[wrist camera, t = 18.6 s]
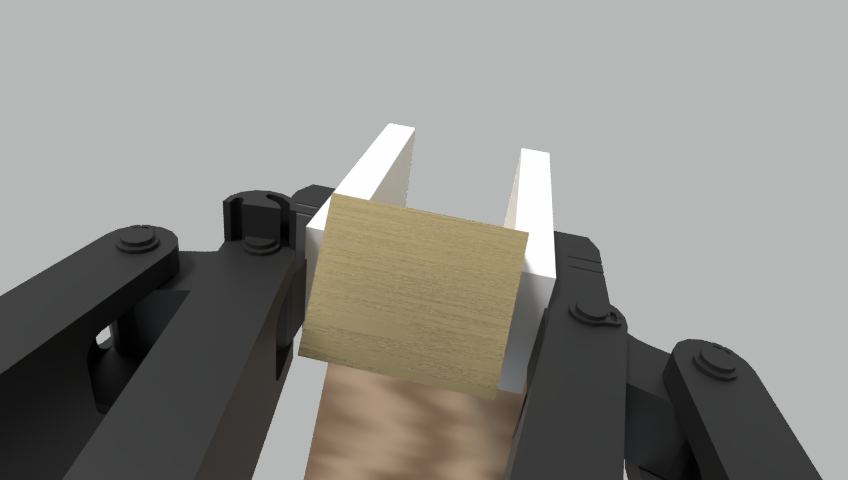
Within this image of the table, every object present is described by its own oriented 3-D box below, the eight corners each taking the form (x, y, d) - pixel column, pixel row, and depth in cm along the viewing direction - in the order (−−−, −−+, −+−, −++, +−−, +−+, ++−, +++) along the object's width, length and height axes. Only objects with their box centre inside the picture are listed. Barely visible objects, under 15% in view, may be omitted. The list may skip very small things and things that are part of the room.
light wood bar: (477, 292, 34) (485, 252, 34) (494, 400, 8) (529, 232, 8) (428, 282, 34) (437, 241, 34) (297, 355, 8) (332, 192, 9)
